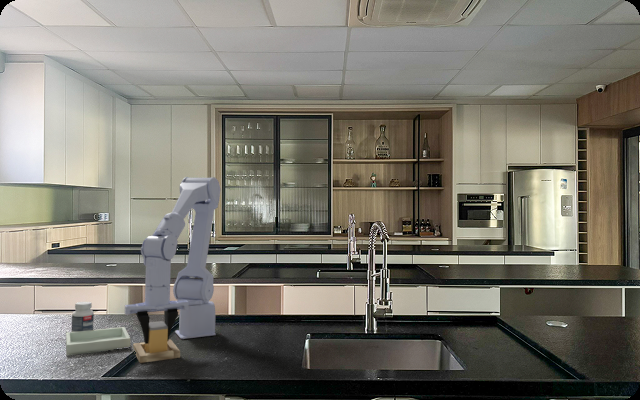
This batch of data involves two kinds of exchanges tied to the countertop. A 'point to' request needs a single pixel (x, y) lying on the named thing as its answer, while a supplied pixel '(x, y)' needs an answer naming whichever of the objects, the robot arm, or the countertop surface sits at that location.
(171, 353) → the socket block
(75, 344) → the tray
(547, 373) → the countertop surface
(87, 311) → the pill bottle
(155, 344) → the tan boxy piece
